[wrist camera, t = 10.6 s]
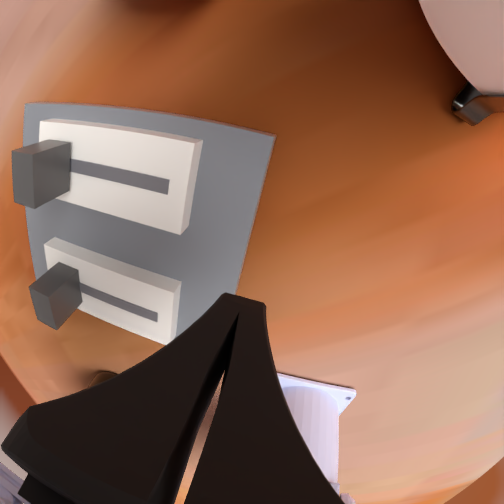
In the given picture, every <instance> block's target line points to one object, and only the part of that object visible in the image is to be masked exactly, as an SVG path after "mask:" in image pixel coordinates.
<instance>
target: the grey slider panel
mask: <svg viewBox="0 0 504 504" xmlns="http://www.w3.org/2000/svg"><path fill="white" fill-rule="evenodd" d="M48 139H51V140H58V141H65V142H71V146H70V175H69V191H68V192H66V193H64V194H62V195H60V196H58V197H56V198H55V199H53V200H51V201H49V202H47V203H45V204H43V205H42V206H40V207H38V208H36V209H33V208H30V207H27V206H25V209H26V219H27V228H28V235H29V242H30V249H31V255H32V261H33V266H34V271H35V276H36V281H35V282H34V283H33V284H32V285H30V286H29V290H30V294H31V298H32V301H33V305H34V309H35V312H36V316H37V319H38V320H39V321H41V322H43V323H44V324H46V325H48V326H50V327H52V328H53V329H55V330H58V329H59V327H60V326H61V325H62V324H63V323H64V322H65V321H66V320H67V319H68V317H69V316H70V315H71V314H72V313H73V312H74V311H75V310H76V309H79V310H82V311H84V312H86V313H88V314H90V315H93V316H95V317H97V318H99V319H102V320H104V321H106V322H109V323H111V324H113V325H116V326H118V327H120V328H123V329H125V330H128V331H130V332H133V333H135V334H138V335H140V336H143V337H146V338H148V339H151V340H153V341H156V342H159V343H162V344H164V345H167V344H168V343H170V342H171V341H172V340H173V339H175V338H176V337H177V336H179V335H180V334H181V333H182V332H184V331H185V330H186V329H187V328H188V327H190V326H191V325H192V324H193V323H194V322H195V321H196V320H197V319H198V318H200V317H201V316H202V315H203V314H204V313H205V312H206V311H207V310H208V309H209V308H210V307H211V306H212V305H213V304H214V303H215V301H216V300H217V299H218V298H219V297H220V295H221V294H223V293H225V292H227V293H230V294H234V295H236V292H237V288H238V284H239V280H240V276H241V272H242V268H243V264H244V260H245V256H246V252H247V248H248V244H249V240H250V236H251V233H252V229H253V225H254V221H255V217H256V213H257V209H258V205H259V201H260V197H261V193H262V189H263V186H264V182H265V178H266V174H267V170H268V166H269V162H270V158H271V154H272V151H273V147H274V143H275V139H276V135H275V134H271V133H267V132H263V131H259V130H255V129H251V128H247V127H242V126H238V125H233V124H229V123H224V122H219V121H214V120H209V119H204V118H199V117H193V116H188V115H182V114H176V113H169V112H162V111H155V110H148V109H140V108H132V107H123V106H113V105H101V104H87V103H68V102H32V103H26V104H25V111H24V127H23V147H25V146H28V145H31V144H34V143H38V142H41V141H44V140H48Z"/></svg>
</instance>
